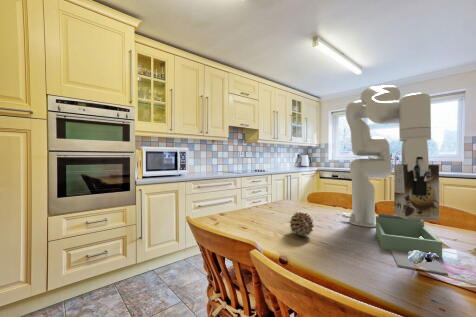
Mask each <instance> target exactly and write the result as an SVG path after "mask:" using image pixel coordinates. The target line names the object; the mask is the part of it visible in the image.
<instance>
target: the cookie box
mask: <svg viewBox="0 0 476 317" xmlns="http://www.w3.org/2000/svg"><path fill="white" fill-rule="evenodd" d="M393 168H394V171H393V172H394V176H393V177H394V178H393V180H394V186H393V187H394V188H393V190H394V191H393V192H394V193H393V196H394V197H393V198H394V199H393V200H394V202H393V203H394V205H393V210H394V211H393V212H394V213H393V215H397V216H399V217H402V218H404V219H412V220H423V221H440V165H439V164H428V171H427V172H426V179H427V181H426V182H427V195H426V196H421V195H413V194H412V181H414V180H413V171H411V170H410V172H408V171H407V165H406V164H394V167H393ZM414 170H419V168H418V165H415V167H414Z"/></svg>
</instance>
